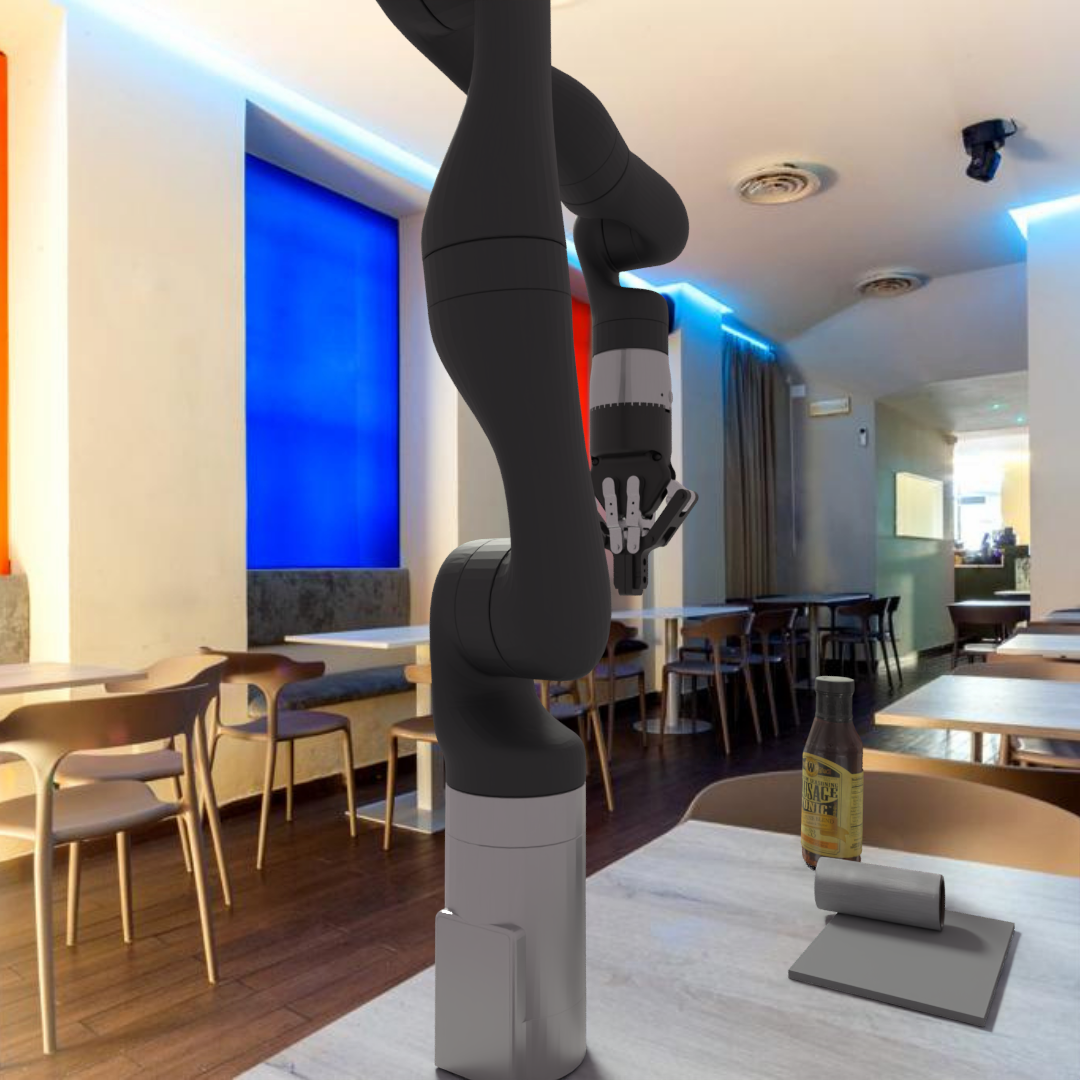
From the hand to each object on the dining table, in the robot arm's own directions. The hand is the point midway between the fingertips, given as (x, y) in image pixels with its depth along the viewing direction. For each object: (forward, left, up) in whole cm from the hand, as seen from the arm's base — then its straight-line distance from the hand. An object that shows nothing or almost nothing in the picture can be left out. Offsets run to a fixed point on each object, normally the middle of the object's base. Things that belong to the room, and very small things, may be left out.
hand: (631, 595), depth 81 cm
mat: (+6, -22, -29) cm, 37 cm away
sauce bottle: (+25, -11, -29) cm, 40 cm away
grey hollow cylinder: (+10, -14, -26) cm, 31 cm away
